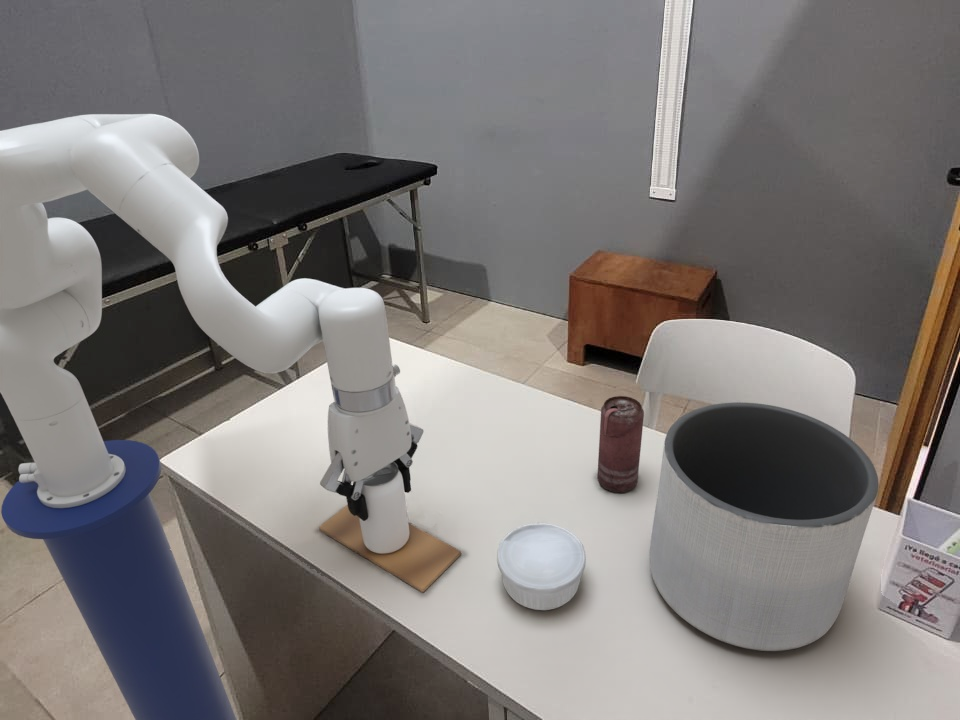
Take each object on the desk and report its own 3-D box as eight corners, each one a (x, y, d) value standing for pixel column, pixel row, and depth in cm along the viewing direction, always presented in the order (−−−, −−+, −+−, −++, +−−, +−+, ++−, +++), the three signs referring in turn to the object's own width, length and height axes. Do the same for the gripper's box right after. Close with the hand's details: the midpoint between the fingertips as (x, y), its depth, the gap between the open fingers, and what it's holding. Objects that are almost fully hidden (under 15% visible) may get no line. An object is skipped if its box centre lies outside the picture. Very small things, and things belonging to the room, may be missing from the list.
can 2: (587, 481, 101) (591, 406, 94) (613, 463, 104) (618, 389, 97) (619, 500, 97) (625, 423, 90) (645, 480, 100) (652, 405, 93)
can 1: (359, 529, 93) (347, 463, 87) (403, 517, 95) (394, 451, 89) (369, 561, 87) (357, 493, 81) (415, 547, 89) (407, 479, 83)
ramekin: (552, 539, 90) (552, 510, 88) (602, 594, 82) (604, 564, 79) (482, 571, 86) (480, 542, 83) (527, 633, 77) (527, 603, 75)
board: (319, 530, 94) (318, 527, 94) (358, 498, 99) (358, 496, 99) (423, 593, 83) (422, 589, 83) (461, 554, 89) (461, 551, 88)
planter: (658, 504, 95) (673, 388, 86) (829, 538, 88) (866, 416, 78) (635, 628, 77) (650, 499, 67) (848, 684, 70) (899, 549, 60)
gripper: (400, 352, 86) (412, 459, 95) (285, 407, 76) (311, 521, 85) (437, 371, 82) (447, 481, 90) (320, 432, 71) (344, 550, 80)
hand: (381, 500), depth 88 cm, fingers open, 6 cm apart
